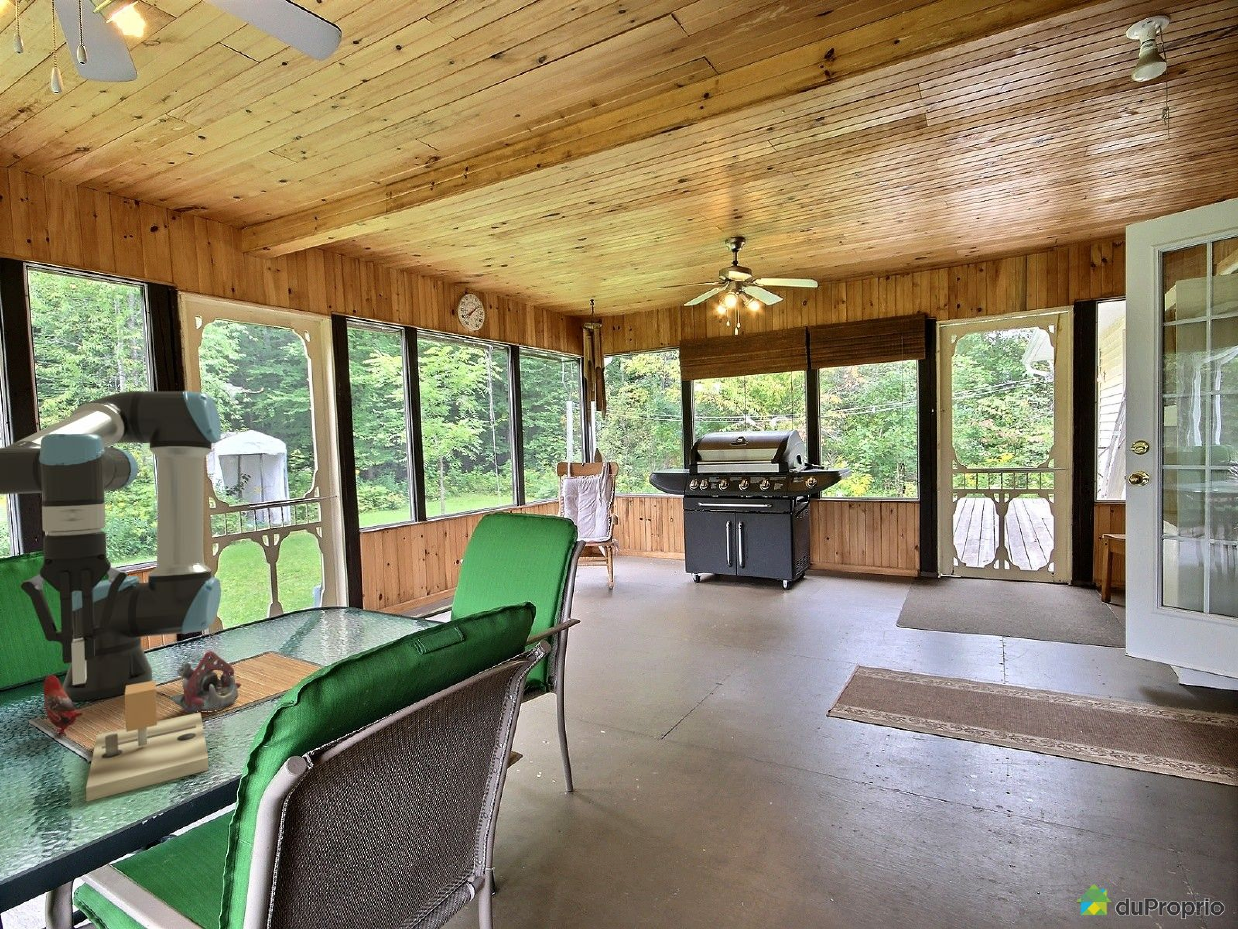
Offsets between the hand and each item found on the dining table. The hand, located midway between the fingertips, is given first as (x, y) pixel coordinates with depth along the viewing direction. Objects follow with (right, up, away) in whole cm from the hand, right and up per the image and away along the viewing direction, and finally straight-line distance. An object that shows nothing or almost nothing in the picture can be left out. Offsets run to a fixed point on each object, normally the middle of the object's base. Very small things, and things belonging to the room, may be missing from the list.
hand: (79, 681), depth 101 cm
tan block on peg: (+6, -12, +5) cm, 15 cm away
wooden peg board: (+7, -15, +6) cm, 17 cm away
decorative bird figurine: (-14, -15, +14) cm, 25 cm away
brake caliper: (+3, -14, +27) cm, 31 cm away
